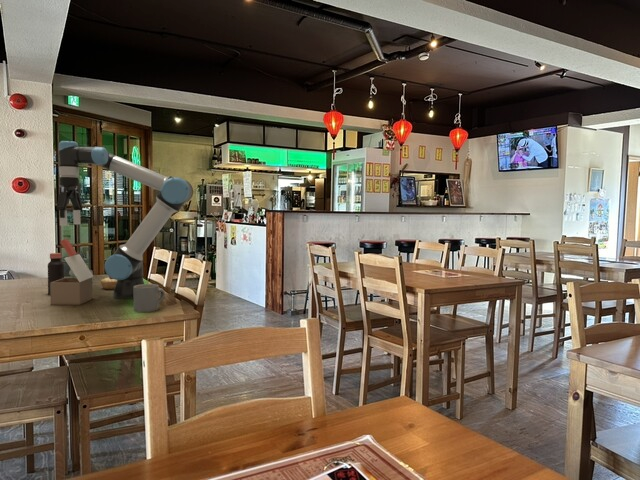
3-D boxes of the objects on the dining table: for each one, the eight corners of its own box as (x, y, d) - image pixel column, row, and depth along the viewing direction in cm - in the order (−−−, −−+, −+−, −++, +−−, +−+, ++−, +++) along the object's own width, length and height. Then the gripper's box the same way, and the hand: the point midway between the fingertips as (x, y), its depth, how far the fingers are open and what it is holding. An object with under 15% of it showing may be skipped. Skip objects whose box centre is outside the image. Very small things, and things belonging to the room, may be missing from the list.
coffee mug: (138, 313, 184) (138, 289, 183) (130, 308, 191) (130, 285, 191) (170, 308, 192) (170, 285, 192) (161, 304, 200) (161, 282, 199)
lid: (92, 277, 210) (96, 275, 210) (79, 282, 196) (83, 280, 196) (69, 240, 208) (72, 237, 208) (54, 242, 193) (58, 240, 194)
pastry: (99, 291, 231) (98, 274, 230) (103, 287, 242) (102, 270, 241) (124, 290, 234) (123, 273, 233) (127, 285, 245) (126, 269, 245)
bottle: (64, 292, 224) (63, 252, 223) (64, 295, 218) (63, 253, 217) (48, 293, 220) (47, 253, 219) (48, 296, 215) (47, 254, 213)
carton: (92, 298, 211) (92, 277, 210) (79, 305, 197) (79, 282, 196) (65, 298, 209) (64, 277, 209) (50, 305, 195) (50, 282, 195)
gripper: (72, 178, 211) (73, 223, 212) (46, 174, 186) (47, 226, 188) (89, 178, 212) (90, 223, 213) (65, 175, 187) (66, 226, 188)
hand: (70, 225), depth 200 cm, fingers open, 13 cm apart
